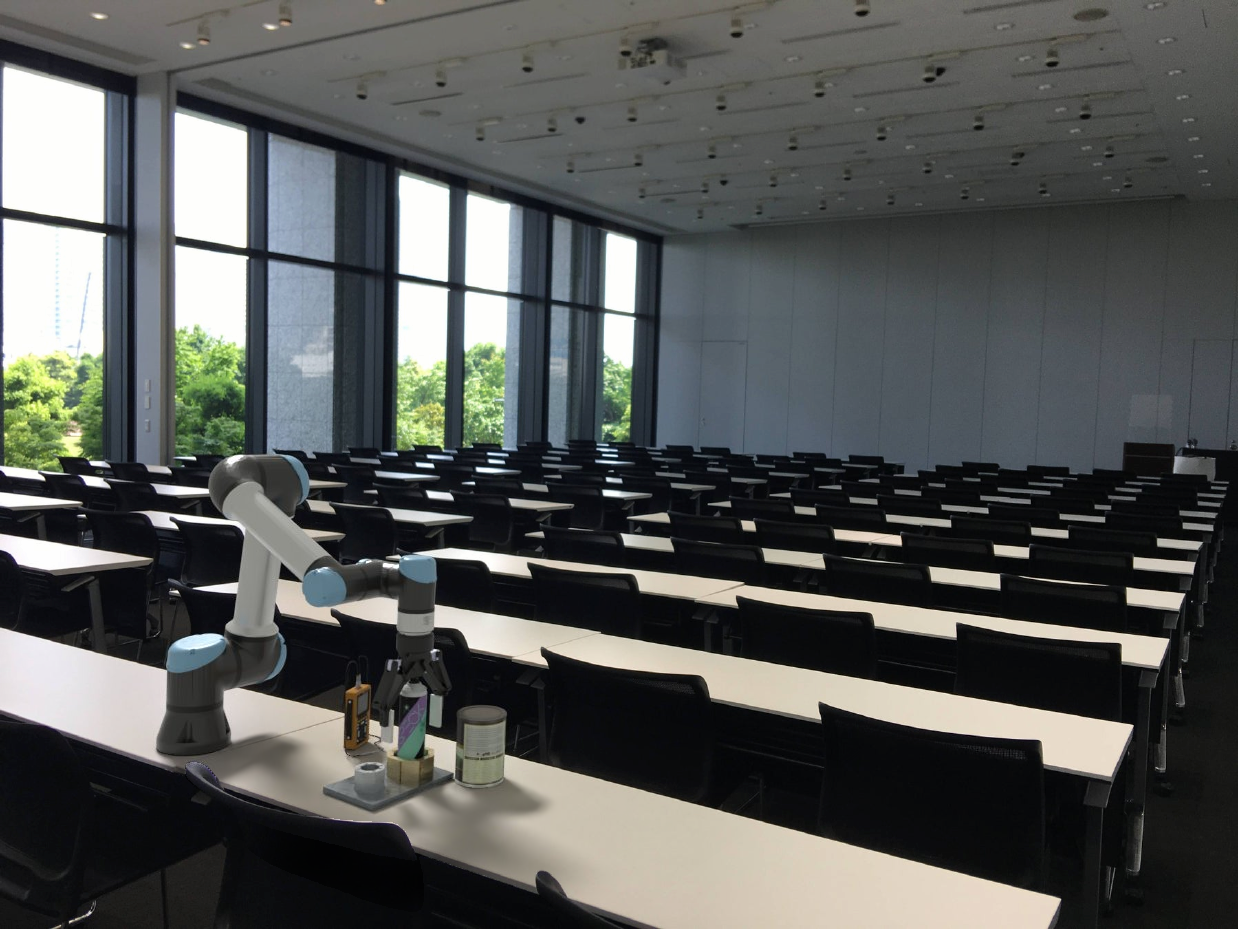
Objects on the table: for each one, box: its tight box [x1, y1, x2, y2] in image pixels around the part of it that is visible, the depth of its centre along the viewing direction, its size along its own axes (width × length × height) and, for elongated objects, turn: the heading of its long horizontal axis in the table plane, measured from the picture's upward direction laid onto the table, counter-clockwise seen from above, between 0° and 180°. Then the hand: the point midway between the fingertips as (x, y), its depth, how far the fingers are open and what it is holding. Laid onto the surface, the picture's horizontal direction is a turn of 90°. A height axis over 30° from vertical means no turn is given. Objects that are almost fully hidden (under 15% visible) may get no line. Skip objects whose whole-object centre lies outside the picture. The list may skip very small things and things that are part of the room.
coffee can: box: [453, 704, 508, 789], centre depth 201 cm, size 10×10×14 cm
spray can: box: [397, 676, 428, 759], centre depth 199 cm, size 6×6×20 cm
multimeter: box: [343, 654, 387, 758], centre depth 217 cm, size 15×10×20 cm
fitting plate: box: [322, 746, 455, 812], centre depth 195 cm, size 14×22×5 cm, turn 146°
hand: (411, 733), depth 200 cm, fingers open, 13 cm apart
